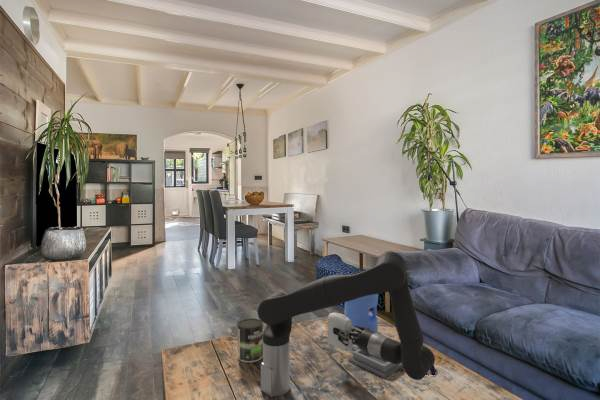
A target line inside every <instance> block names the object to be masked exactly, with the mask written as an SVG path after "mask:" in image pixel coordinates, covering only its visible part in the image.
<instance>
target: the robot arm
mask: <svg viewBox="0 0 600 400" xmlns="http://www.w3.org/2000/svg"><path fill="white" fill-rule="evenodd" d="M384 293H388V295H389V298H390V304H391V309H392V314H393V315H392V316H393V320H394V321H393V322H394V326H395V329H396V332H397V335H398V338H399V341H397V340H396V339H393V338H389V337H388V336H386V335H385V334H382V333H380V332H378V333H377V332H374V331H372V330H370V328H366V327H361V326H357V325H355V327H353V326H352V331H342V330H340V329H338V328H333V334H335V335H338V340H339V341H340V342H341V343H343V344H344V345H345V346H348V343H352V345H357V346H358V349H360V350H362V351H364V352H366V353H369V354H371V355H373V356H375V357H378V358H381V359H384V360H386V361H388V362H391V363H393V364H400V363H401V364H402V368H403V370H404V372H405V374H406V375H407V376H408V377H409V378H410V379H412V380H415V381H420V380H422V379H423V378H424V377H426V376H425V375H426V374H427V372H428V371H429V370H430V368H431V367H432V366H433V365H434V366H435V362H436V358H435V354H434V352H433V351H432V350H431V349H429V348H428V347H427V346H425V345H423V344H424V335H423V332H422V329H421V326H420V322H419V319H418V316H417V313H416V308H415V306H414V303H413V300H412V296H411V292H410V288H409V283H408V273H407V263H406V261H405V259H404V258H403V256H402V255H400V254H399V253H398V252H395V251H392V250H389V251H384V252H382V253H381V254H380V255H379V256H378V257H377V259H376V261H375V264H374V266H372V267H371V268H368V269H366V270H363V271H360V272H358V273H354V274H336V273H335V274H330V275H328V276H324V277H322V278H318V279H316V280H314V281H311V282H309V283H306V284H304V285H303V286H301V287H300V288H298V289H296V290H295V291H292V292H290V293H285V292H283V291H277V292H274V293H272V294H270V295H269V296H267V297H265V298H264V299H263V300H261V302H260V303H259V305H258V306H257V307H258V308H257V317H258V318H259V320H261V321H262V322H263V324H266V327H265V328H264V331H262V334H263V336H262V337H263V357H262V362H261V363H260V390H261V391H262V392H263V393H264V394H266V395H267V396H269V397H270V398H274V397H281V396H284V395H286V394H288V392H289V391H290V389H291V387H290V386H291V385H290V384H291V382H290V381H291V377H290V376H291V375H290V363H291V362H290V360H291V359H290V358H291V357H290V350H291V349H290V336H291V332H292V326H293V317H296V316H299V315H303V314H304V315H305V314H308V313H312V312H317V311H320V310H324V309H328V308H331V307H335V306H338V305H340V304H343V303H344V304H345V302H347V301H351V300H354V299H357V298H360V297H364V296H368V295H373V294H378V295H379V294H384ZM358 328H359V329H358ZM343 334H345V335H343Z"/></svg>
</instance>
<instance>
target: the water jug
mask: <svg viewBox="0 0 600 400" xmlns="http://www.w3.org/2000/svg"><path fill="white" fill-rule="evenodd" d="M378 304H379V294H373V295H368V296H364V297H360V298H357V299H354V300H351V301H347V302H344V316H346V317H347V318H349V319H350V320H351V322H352V326H353V327H355V325H357V326H361V327H366V328H370V330H372V331H374V332H377V333H379V328H378V324H379V323H378V322H379V321H378V317H377V316H378V315H377V312H378V311H377V310H378V309H377V306H378ZM370 309H372V313H370V312H369V310H370ZM358 329H359V328H358Z"/></svg>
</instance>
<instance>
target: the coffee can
mask: <svg viewBox="0 0 600 400" xmlns="http://www.w3.org/2000/svg"><path fill="white" fill-rule="evenodd" d="M263 324H264V322H262V321H261V320H260V319H258V318H245V319H242V320H241V319H240V321H238V322H237V325H236V327H237V359H238V361H240V362H242V363H246V364H250V363H251V364H252V363H256V362H258V361H260V360H263Z"/></svg>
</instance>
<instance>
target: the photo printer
mask: <svg viewBox="0 0 600 400" xmlns="http://www.w3.org/2000/svg"><path fill="white" fill-rule="evenodd" d="M333 328H338V329H340V330H342V331H352V322H351V320H350V319H349V318H347V317H346V316H345V314H342V313H340V312H331V313H329V314H328V317H327V342H328V345H331V346H333V347H335V348H337V349H339V350H342V351H343V352H349V351H351V349H352V346H353V344H352V343H348V346H345V345H344V344H343V343H341V342H340V341H339V340H338V335H335V334H333ZM343 335H345V334H343Z"/></svg>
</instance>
